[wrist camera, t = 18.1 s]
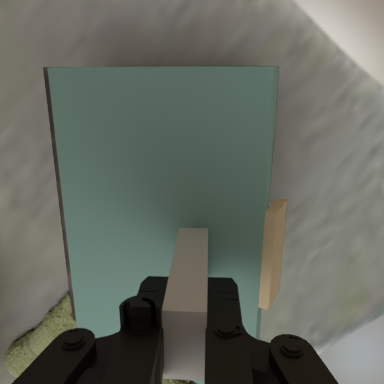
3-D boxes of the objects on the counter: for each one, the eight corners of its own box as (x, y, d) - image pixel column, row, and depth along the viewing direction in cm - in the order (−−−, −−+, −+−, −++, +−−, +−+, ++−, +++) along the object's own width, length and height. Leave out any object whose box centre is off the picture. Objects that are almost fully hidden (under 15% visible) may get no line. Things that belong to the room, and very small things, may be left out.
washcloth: (125, 437, 44) (119, 464, 40) (6, 346, 40) (-11, 369, 37) (204, 378, 40) (203, 403, 37) (81, 274, 37) (70, 293, 34)
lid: (75, 67, 22) (47, 66, 20) (299, 66, 16) (287, 66, 14) (98, 315, 27) (77, 332, 25) (270, 380, 21) (259, 409, 19)
